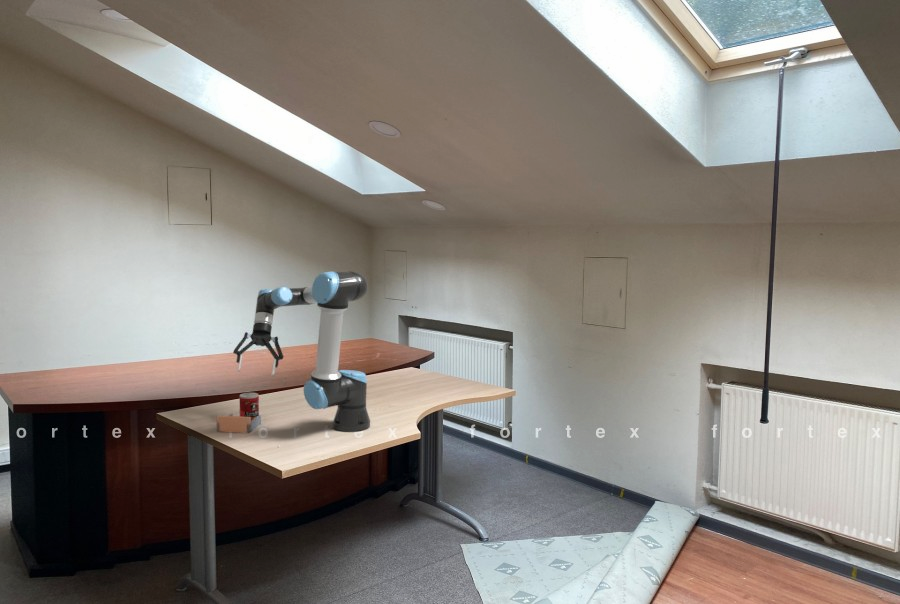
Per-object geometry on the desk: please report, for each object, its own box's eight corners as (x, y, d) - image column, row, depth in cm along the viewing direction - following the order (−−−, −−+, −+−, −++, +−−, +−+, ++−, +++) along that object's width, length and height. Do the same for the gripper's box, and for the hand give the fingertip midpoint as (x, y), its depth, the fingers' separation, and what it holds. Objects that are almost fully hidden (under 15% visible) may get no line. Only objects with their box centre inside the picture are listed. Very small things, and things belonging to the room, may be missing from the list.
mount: (261, 423, 255) (260, 409, 254) (249, 432, 242) (249, 418, 242) (230, 422, 255) (230, 408, 255) (217, 431, 243) (216, 416, 242)
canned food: (245, 424, 254) (245, 398, 252) (236, 420, 259) (236, 394, 258) (262, 420, 259) (262, 395, 258) (253, 416, 265) (252, 391, 263)
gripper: (290, 331, 272) (285, 378, 264) (231, 322, 263) (223, 371, 255) (293, 326, 265) (288, 374, 257) (233, 317, 256) (225, 366, 248)
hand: (256, 372), depth 256 cm, fingers open, 13 cm apart
